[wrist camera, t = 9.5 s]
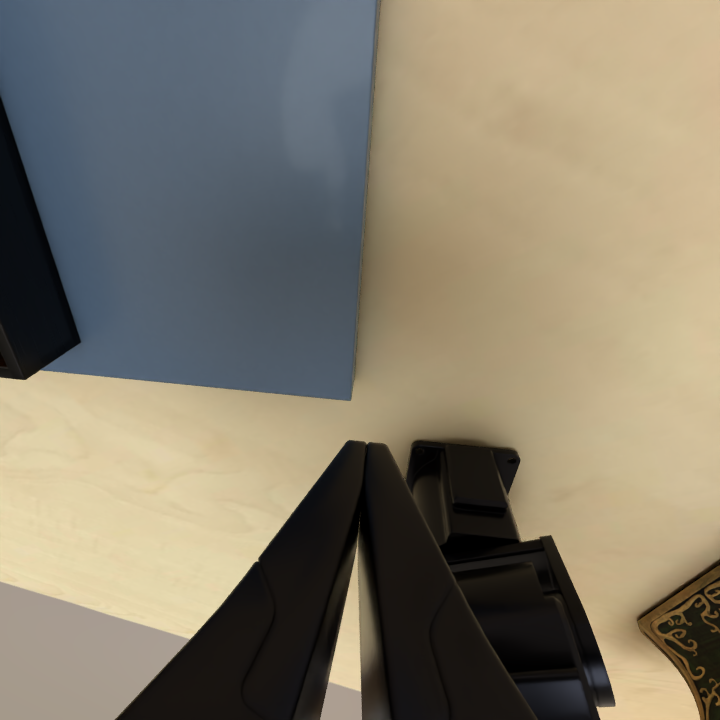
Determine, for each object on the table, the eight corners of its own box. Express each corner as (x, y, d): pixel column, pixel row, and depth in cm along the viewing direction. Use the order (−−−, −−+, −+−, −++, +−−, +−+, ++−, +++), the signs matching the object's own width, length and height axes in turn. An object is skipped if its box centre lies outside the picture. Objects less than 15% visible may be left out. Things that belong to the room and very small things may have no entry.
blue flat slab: (354, 380, 22) (350, 405, 20) (-55, 340, 23) (-98, 360, 21) (386, -75, 13) (384, -113, 11) (-299, -115, 14) (-417, -157, 12)
